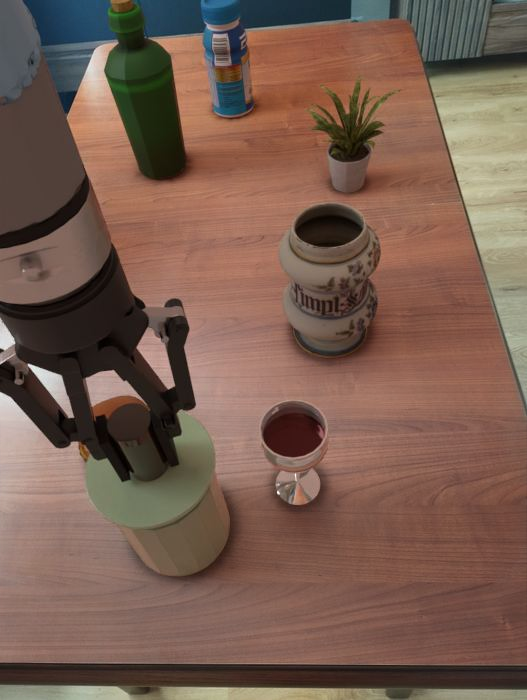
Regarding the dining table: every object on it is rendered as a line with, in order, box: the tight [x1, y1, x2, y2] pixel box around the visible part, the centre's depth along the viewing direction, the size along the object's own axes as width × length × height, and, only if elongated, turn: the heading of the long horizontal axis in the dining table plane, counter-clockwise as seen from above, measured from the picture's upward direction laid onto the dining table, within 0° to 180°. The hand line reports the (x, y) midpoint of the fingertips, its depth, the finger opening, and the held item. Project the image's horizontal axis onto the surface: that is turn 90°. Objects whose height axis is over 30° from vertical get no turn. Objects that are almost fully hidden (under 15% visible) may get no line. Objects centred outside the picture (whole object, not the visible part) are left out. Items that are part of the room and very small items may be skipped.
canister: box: [116, 470, 231, 577], centre depth 58 cm, size 10×10×12 cm
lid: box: [84, 403, 217, 529], centre depth 49 cm, size 12×12×8 cm
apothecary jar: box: [277, 201, 382, 359], centre depth 71 cm, size 12×12×18 cm
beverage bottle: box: [200, 0, 255, 119], centre depth 108 cm, size 8×8×20 cm
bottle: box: [103, 0, 187, 180], centre depth 95 cm, size 11×11×28 cm
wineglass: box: [257, 398, 330, 506], centre depth 60 cm, size 7×7×12 cm
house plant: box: [305, 74, 403, 193], centre depth 92 cm, size 14×14×16 cm
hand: (148, 459), depth 51 cm, fingers closed on lid, 4 cm apart
